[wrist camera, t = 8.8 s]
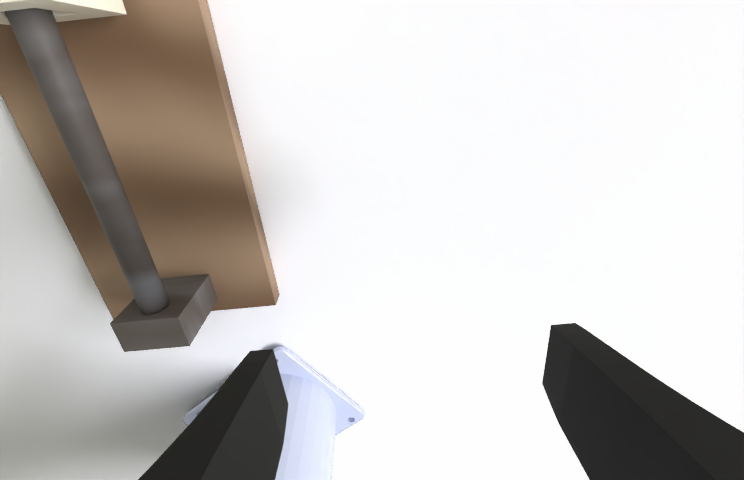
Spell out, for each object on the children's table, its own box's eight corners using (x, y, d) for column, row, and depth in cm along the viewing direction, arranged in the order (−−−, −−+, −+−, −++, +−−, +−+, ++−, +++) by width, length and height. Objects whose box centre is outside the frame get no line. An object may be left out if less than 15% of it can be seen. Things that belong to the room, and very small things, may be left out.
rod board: (279, 294, 21) (255, 361, 16) (124, 308, 21) (56, 379, 17) (93, -464, 10) (-139, -913, 5) (-223, -421, 10) (-708, -818, 6)
